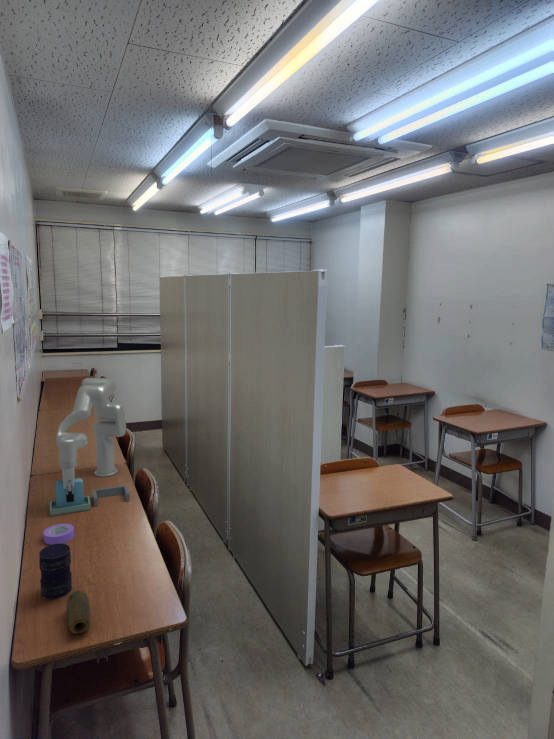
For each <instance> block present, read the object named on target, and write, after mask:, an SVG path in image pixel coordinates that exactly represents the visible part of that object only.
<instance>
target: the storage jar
mask: <svg viewBox="0 0 554 739" xmlns="http://www.w3.org/2000/svg"><path fill="white" fill-rule="evenodd" d="M71 556H72V555H71V548H70V545H68V544H66V543H63V544H53V545H48V546H45V547H43V548H42V549H41V550H40V551H39V553H38V557H39V560H38V562H39V570H40V580H39V581H40V583H39V584H40V590H41V597H42V596H43V597H45V598H47V599H46V600H56V598H58V599H61V598H64V597H65V596H67V595H68V594H69V593H70V592H71V591H72V589H73V585H72V582H73V578H72V576H73V575H72V571H71V564H72V557H71ZM43 597H42V598H43ZM60 597H61V598H60ZM45 598H44V599H45Z"/></svg>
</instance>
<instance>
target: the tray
mask: <svg viewBox="0 0 554 739" xmlns="http://www.w3.org/2000/svg"><path fill="white" fill-rule="evenodd" d="M91 509H92V508H91V498H90V495H84V502H83V504H82V505H77V506H69V507H62V508H58V507H57V506H56V499H55V500H50V501H49V517H54V516H61V515H67V514H74V512H75V513H80V512H87V511H91Z"/></svg>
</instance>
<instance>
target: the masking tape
mask: <svg viewBox="0 0 554 739" xmlns="http://www.w3.org/2000/svg"><path fill="white" fill-rule="evenodd" d="M74 538H75V527H74V525H72V524H70V523H58V524H54V525H51V526H49V527H47V528H46V529H45V530H44V531H43V542H44V543H45V544H47V545H49V544H50V545H53V544H66V543H68V542H70V541H72V540H73V539H74ZM50 545H49V546H50Z"/></svg>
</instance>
